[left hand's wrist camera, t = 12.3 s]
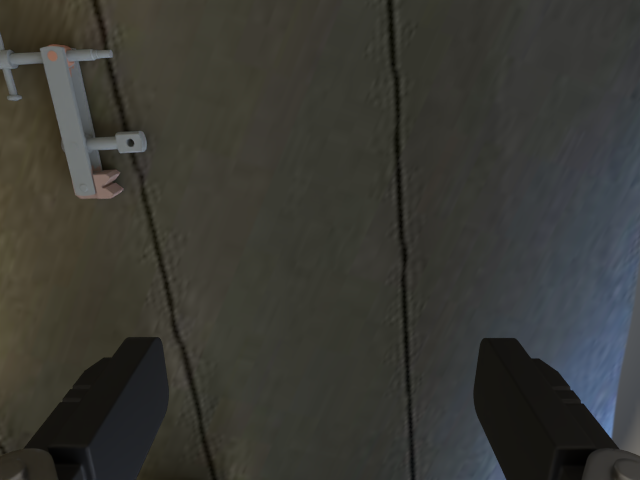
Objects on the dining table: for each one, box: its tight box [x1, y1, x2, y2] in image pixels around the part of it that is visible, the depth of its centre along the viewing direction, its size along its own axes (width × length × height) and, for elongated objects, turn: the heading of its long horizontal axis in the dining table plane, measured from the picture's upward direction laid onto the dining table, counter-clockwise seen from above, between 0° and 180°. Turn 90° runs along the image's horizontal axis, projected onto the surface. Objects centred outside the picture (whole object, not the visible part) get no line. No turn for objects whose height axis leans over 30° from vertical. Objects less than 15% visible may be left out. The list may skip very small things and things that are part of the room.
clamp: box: [0, 33, 147, 199], centre depth 35 cm, size 15×2×10 cm
